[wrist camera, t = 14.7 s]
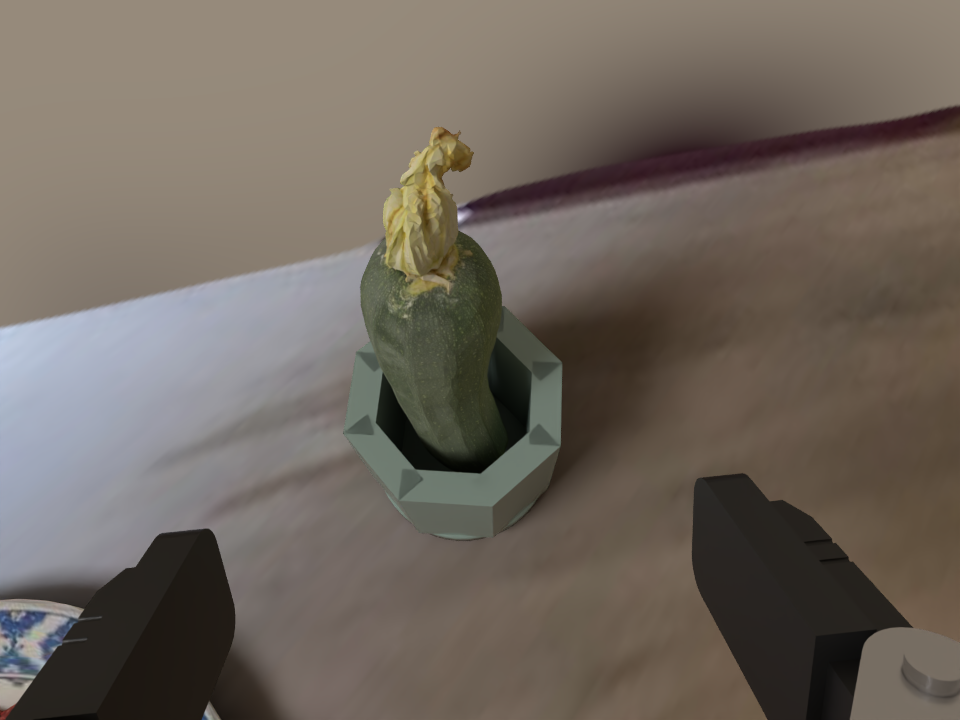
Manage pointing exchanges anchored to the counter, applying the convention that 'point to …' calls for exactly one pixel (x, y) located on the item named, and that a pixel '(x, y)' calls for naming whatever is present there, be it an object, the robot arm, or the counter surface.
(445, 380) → the vegetable
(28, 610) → the ceramic plate
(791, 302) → the counter surface
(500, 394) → the crock
